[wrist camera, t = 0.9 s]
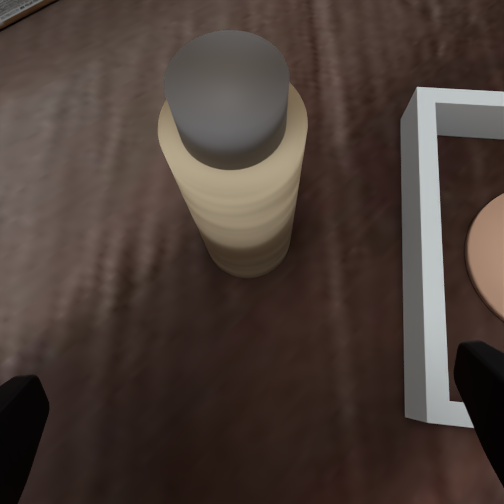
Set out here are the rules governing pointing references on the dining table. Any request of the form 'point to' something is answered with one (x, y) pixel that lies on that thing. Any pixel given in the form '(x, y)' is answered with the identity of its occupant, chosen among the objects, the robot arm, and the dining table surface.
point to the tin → (18, 9)
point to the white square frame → (430, 243)
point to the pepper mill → (235, 146)
